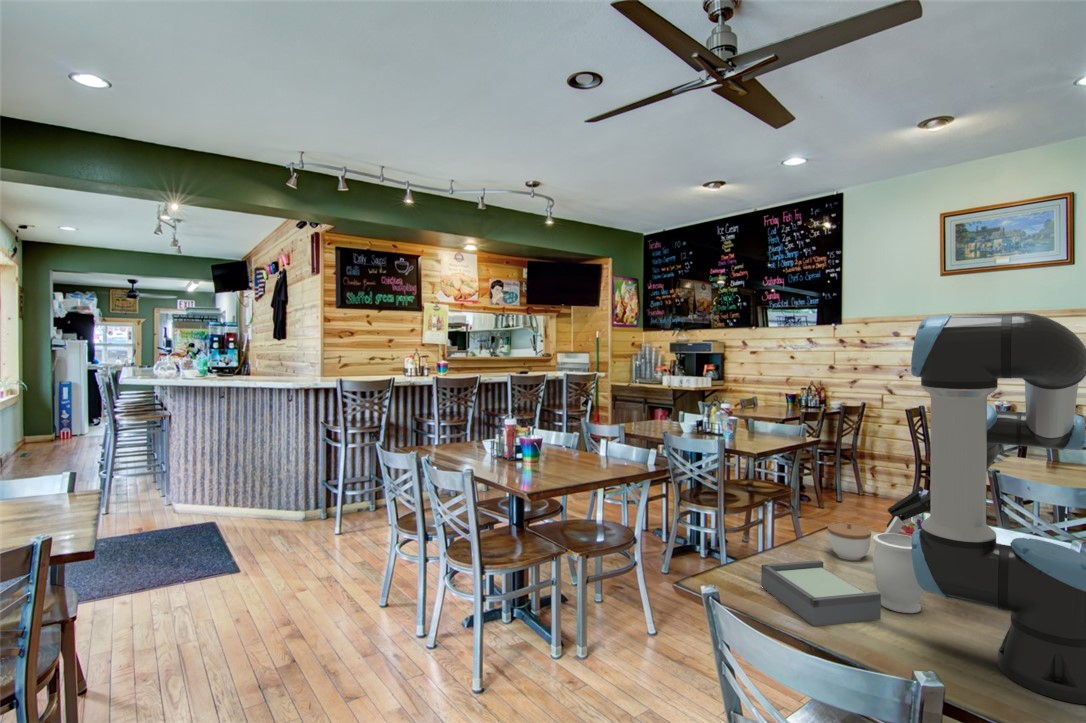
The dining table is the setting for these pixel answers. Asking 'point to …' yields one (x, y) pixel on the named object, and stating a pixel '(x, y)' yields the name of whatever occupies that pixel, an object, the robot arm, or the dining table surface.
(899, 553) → the jar
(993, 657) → the dining table surface
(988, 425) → the robot arm
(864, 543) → the lidded jar
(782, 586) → the tray
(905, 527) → the cell model
